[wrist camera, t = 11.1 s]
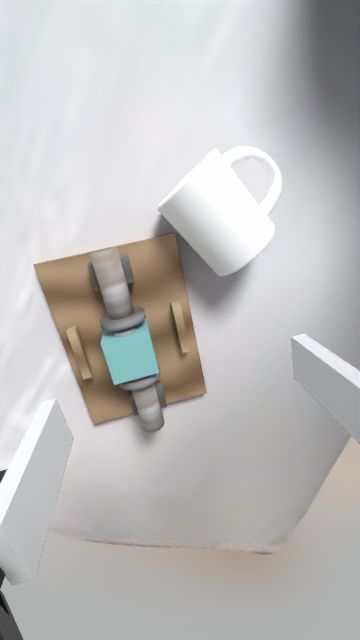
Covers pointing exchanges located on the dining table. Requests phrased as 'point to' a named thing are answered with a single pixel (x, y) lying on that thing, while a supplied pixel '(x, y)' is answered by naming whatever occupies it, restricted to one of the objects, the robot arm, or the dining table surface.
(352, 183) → the dining table surface
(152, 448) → the dining table surface
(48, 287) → the shaft board
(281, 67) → the dining table surface
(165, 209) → the mug
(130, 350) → the block
